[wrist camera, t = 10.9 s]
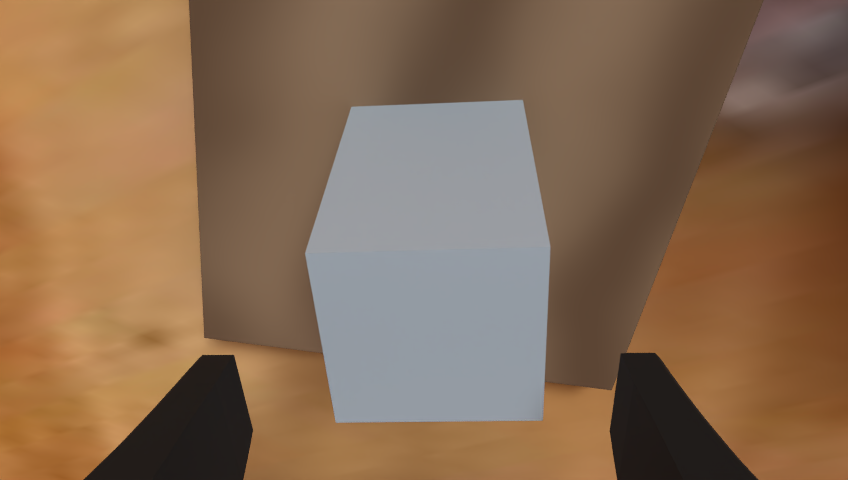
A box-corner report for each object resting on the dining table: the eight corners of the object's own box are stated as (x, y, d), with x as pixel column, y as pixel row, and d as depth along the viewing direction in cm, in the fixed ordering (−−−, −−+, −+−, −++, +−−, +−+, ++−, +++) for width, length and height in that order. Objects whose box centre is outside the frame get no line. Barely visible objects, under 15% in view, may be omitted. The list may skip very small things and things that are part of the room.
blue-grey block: (522, 100, 19) (550, 246, 13) (520, 243, 22) (543, 420, 16) (351, 106, 19) (305, 253, 14) (368, 247, 22) (336, 422, 16)
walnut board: (746, -46, 19) (774, -28, 17) (601, 350, 27) (611, 390, 25) (208, -129, 18) (183, -119, 17) (220, 301, 26) (204, 337, 24)
